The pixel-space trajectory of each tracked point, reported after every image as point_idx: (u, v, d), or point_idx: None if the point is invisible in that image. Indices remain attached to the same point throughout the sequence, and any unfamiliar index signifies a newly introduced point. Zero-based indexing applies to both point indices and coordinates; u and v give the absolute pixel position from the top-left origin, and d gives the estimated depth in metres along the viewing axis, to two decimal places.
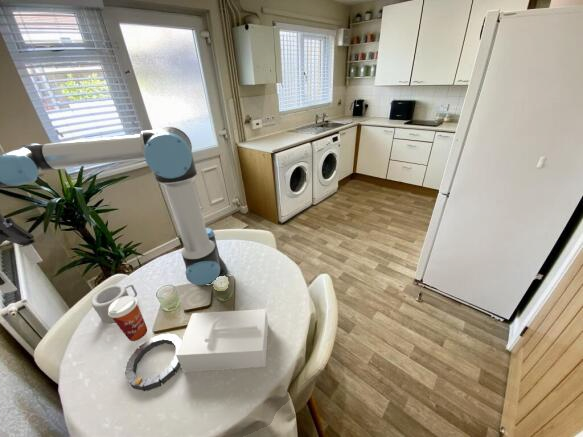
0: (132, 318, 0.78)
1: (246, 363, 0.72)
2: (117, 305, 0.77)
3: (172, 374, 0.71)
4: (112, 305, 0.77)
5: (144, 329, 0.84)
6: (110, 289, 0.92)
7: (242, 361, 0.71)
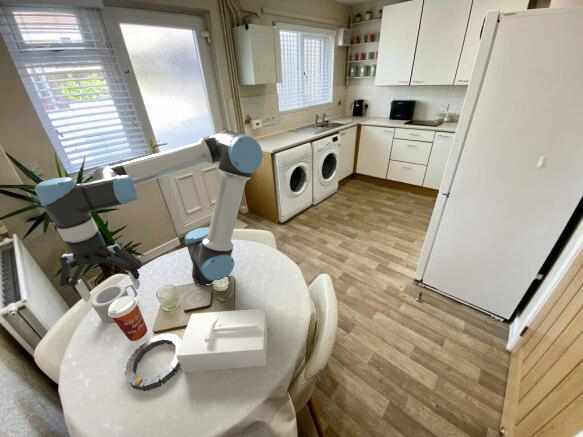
0: (132, 318, 0.78)
1: (246, 362, 0.72)
2: (117, 305, 0.77)
3: (172, 374, 0.71)
4: (112, 305, 0.77)
5: (144, 329, 0.84)
6: (110, 289, 0.92)
7: (243, 360, 0.71)
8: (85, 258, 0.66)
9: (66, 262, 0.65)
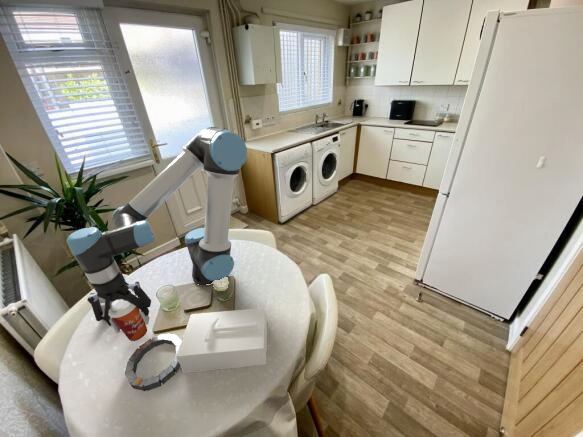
0: (132, 318, 0.78)
1: (247, 362, 0.72)
2: (118, 305, 0.77)
3: (172, 374, 0.71)
4: (112, 305, 0.77)
5: (144, 329, 0.84)
6: None
7: (243, 359, 0.71)
8: (108, 296, 0.73)
9: (94, 301, 0.73)
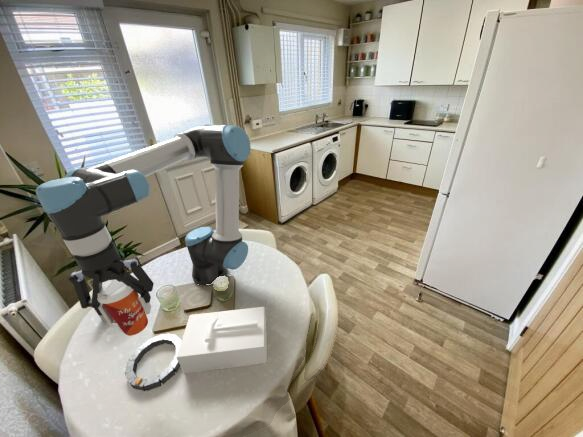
0: (129, 305, 0.60)
1: (247, 360, 0.72)
2: (110, 288, 0.59)
3: (172, 374, 0.71)
4: (103, 288, 0.59)
5: (144, 321, 0.66)
6: None
7: (244, 358, 0.72)
8: (96, 274, 0.55)
9: (77, 281, 0.55)
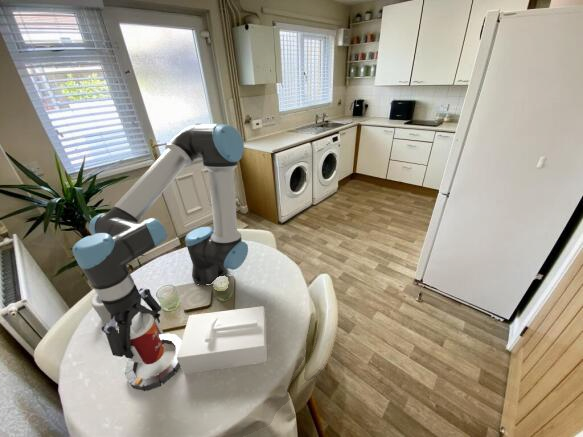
0: (155, 327, 0.70)
1: (248, 360, 0.73)
2: (133, 325, 0.66)
3: (172, 374, 0.71)
4: None
5: None
6: None
7: (244, 358, 0.72)
8: (130, 312, 0.62)
9: (115, 329, 0.59)
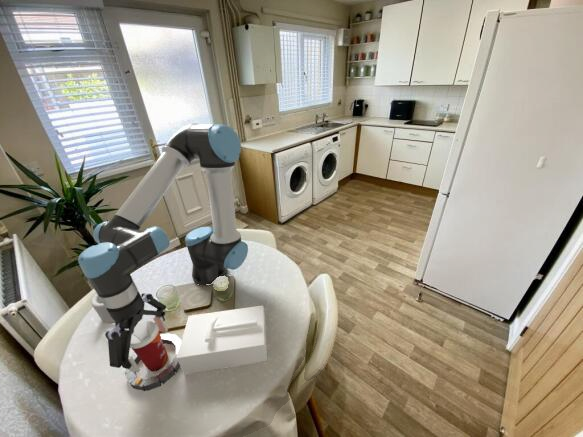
0: (160, 336, 0.72)
1: (248, 359, 0.73)
2: (139, 335, 0.68)
3: (172, 374, 0.71)
4: (133, 340, 0.66)
5: None
6: None
7: (244, 357, 0.72)
8: (134, 318, 0.64)
9: (119, 336, 0.60)
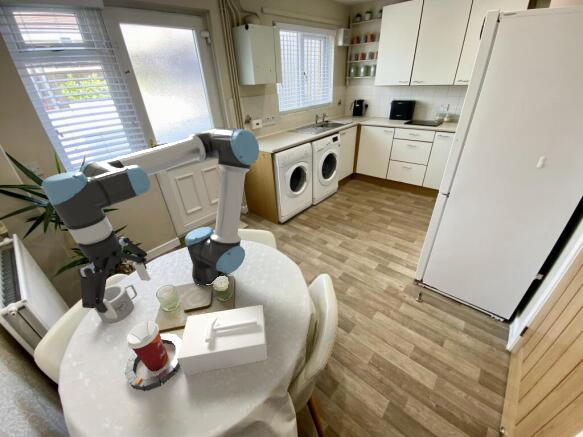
0: (160, 336, 0.72)
1: (248, 358, 0.73)
2: (139, 335, 0.68)
3: (172, 374, 0.71)
4: (133, 340, 0.66)
5: None
6: (110, 289, 0.92)
7: (245, 356, 0.72)
8: (110, 258, 0.60)
9: (92, 273, 0.57)
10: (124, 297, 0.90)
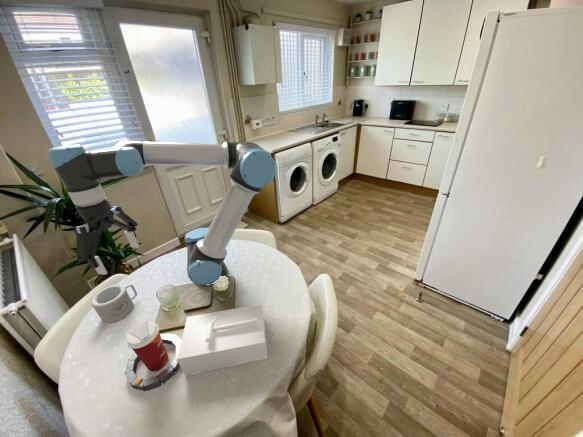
0: (160, 336, 0.72)
1: (249, 357, 0.73)
2: (139, 335, 0.68)
3: (172, 374, 0.71)
4: (133, 340, 0.66)
5: None
6: (110, 289, 0.92)
7: (245, 355, 0.72)
8: (102, 221, 0.71)
9: (86, 231, 0.67)
10: (124, 297, 0.90)
